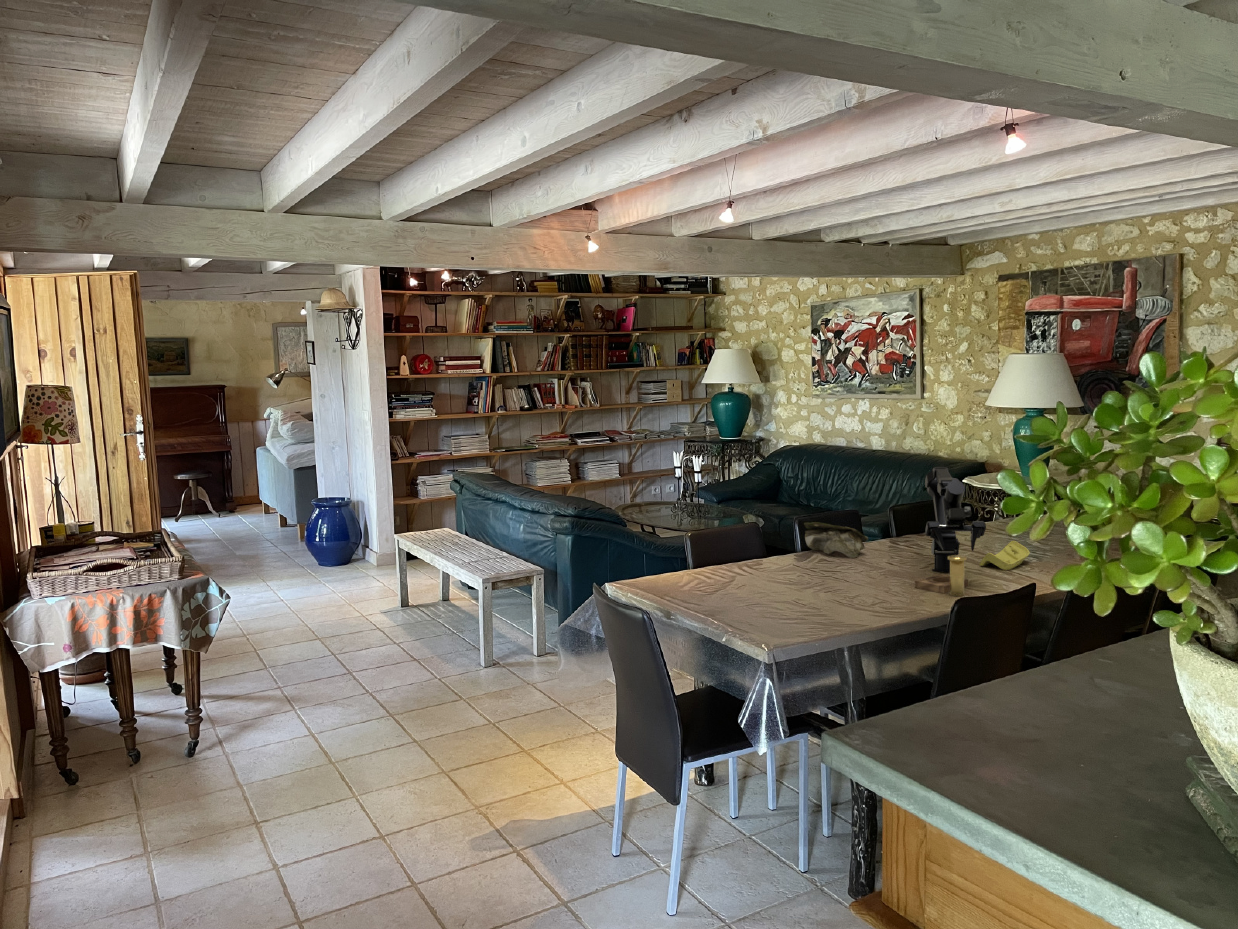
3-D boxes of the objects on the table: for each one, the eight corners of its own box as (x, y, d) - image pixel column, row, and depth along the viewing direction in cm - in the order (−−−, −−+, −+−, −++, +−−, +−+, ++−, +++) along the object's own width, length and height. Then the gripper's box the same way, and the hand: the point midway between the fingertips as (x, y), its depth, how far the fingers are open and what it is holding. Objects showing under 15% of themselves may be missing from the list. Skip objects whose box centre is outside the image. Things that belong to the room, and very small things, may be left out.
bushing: (943, 594, 293) (944, 557, 292) (954, 591, 296) (954, 554, 295) (959, 597, 288) (960, 559, 287) (970, 594, 292) (970, 557, 290)
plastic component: (1009, 565, 321) (985, 550, 327) (1001, 581, 324) (977, 566, 330) (1034, 552, 334) (1010, 538, 339) (1025, 568, 337) (1002, 553, 343)
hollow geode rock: (804, 560, 372) (787, 538, 365) (818, 535, 377) (801, 513, 370) (861, 568, 350) (843, 545, 343) (874, 542, 355) (857, 519, 348)
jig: (915, 587, 303) (915, 580, 302) (939, 580, 311) (939, 574, 311) (943, 593, 294) (943, 586, 294) (968, 586, 302) (968, 579, 302)
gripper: (927, 498, 302) (931, 537, 293) (985, 497, 299) (992, 537, 290) (923, 515, 311) (927, 554, 302) (980, 515, 308) (986, 555, 299)
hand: (958, 550), depth 298 cm, fingers open, 9 cm apart
